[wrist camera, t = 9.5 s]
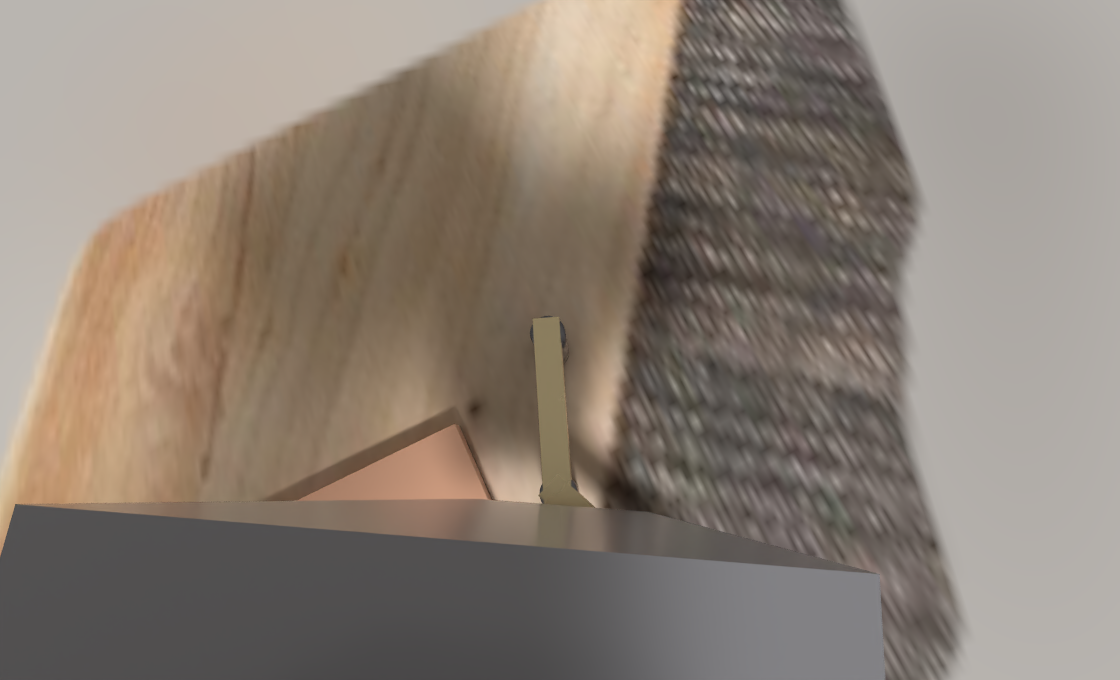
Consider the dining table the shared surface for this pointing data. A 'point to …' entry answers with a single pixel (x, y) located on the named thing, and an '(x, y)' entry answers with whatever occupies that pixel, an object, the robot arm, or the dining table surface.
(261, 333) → the dining table surface
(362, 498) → the terracotta tile
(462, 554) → the gray pillar
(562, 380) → the bent wire
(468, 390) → the dining table surface
